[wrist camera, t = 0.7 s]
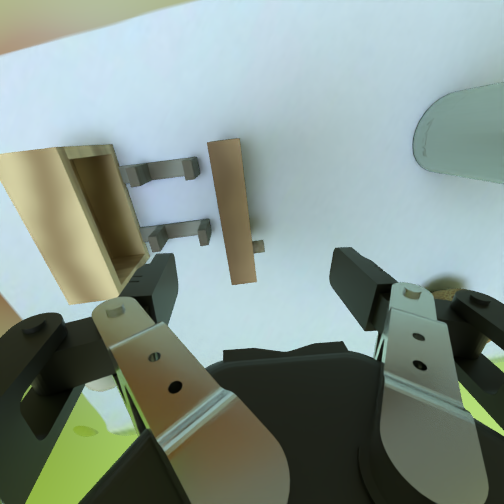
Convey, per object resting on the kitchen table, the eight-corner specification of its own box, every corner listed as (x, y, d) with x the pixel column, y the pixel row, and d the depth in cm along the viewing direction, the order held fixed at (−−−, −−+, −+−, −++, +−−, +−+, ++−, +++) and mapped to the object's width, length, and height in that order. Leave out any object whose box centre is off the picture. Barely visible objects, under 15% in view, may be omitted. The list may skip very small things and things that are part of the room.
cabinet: (192, 134, 28) (173, 132, 19) (214, 248, 35) (208, 286, 26) (65, 150, 28) (-14, 155, 19) (111, 261, 35) (69, 304, 26)
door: (248, 136, 29) (257, 136, 18) (258, 235, 35) (270, 280, 24) (216, 140, 29) (206, 142, 18) (232, 239, 35) (232, 285, 24)
